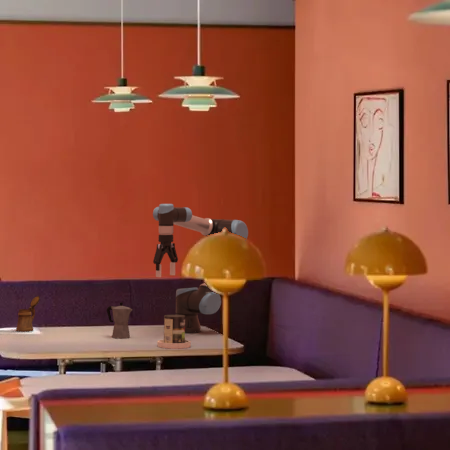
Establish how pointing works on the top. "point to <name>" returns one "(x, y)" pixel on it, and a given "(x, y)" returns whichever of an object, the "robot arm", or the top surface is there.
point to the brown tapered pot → (27, 317)
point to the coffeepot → (120, 321)
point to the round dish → (174, 344)
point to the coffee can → (174, 328)
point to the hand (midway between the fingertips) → (165, 276)
